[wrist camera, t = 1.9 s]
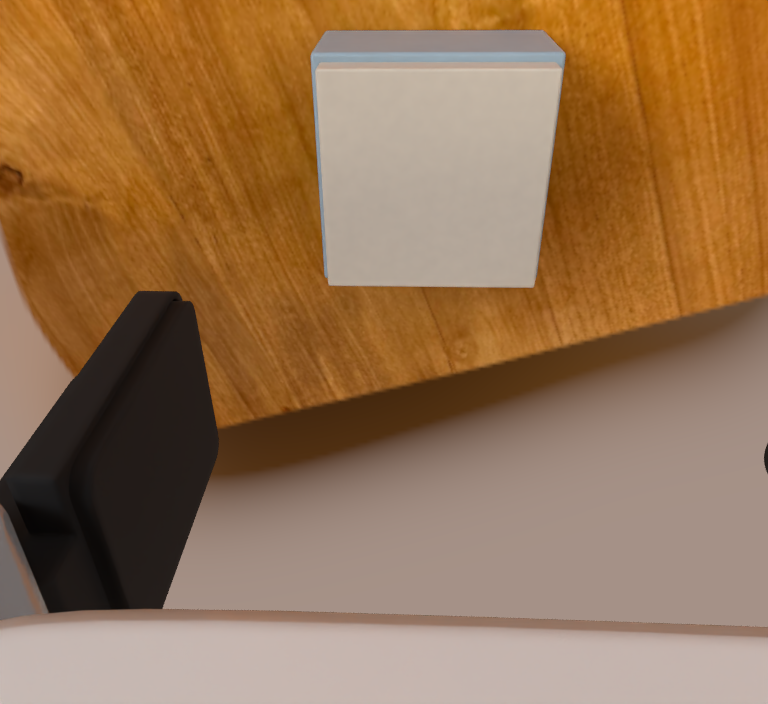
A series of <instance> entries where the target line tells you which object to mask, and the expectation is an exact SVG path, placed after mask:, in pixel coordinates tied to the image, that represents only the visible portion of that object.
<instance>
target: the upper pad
mask: <svg viewBox="0 0 768 704" xmlns="http://www.w3.org/2000/svg"><path fill="white" fill-rule="evenodd" d="M565 58H566V55H565V52H564V51H563V50H562V49H561V48H560V47H559V46H558V45H557V44H556V43H555V42H554V41H553V40H552V39H551V38H550V37H549V36H548V34H547V33H546V32H545V31H543V30H382V31H326V32H325V33H324V34H323V36H322V38H321V39H320V41H319V42H318V44H317V45H316V47H315V49H314V50H313V52H312V53H311V70H312V86H313V102H314V117H315V133H316V149H317V164H318V180H319V196H320V212H321V227H322V243H323V259H324V274H325V277H326V278H328V284H329V285H330V286H399V287H498V288H533V287H534V285H535V279H536V277H537V270H538V262H539V254H540V247H541V239H542V232H543V224H544V217H545V209H546V202H547V194H548V186H549V179H550V171H551V164H552V156H553V149H554V141H555V134H556V126H557V118H558V111H559V103H560V96H561V88H562V81H563V73H564V66H565Z"/></svg>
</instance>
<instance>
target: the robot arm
mask: <svg viewBox="0 0 768 704" xmlns="http://www.w3.org/2000/svg"><path fill="white" fill-rule="evenodd" d="M218 441H219V438H218V431H217V426H216V421H215V415H214V410H213V405H212V399H211V394H210V389H209V383H208V378H207V373H206V367H205V362H204V357H203V351H202V346H201V340H200V335H199V330H198V324H197V319H196V314H195V309H194V306H193V304H192V303H191V302H190V301H182V298H181V296H180V294H179V293H178V292H170V291H138V292H137V293H136V294H135V296H134V297H133V298H132V300H131V301H130V303H129V304H128V305H127V307H126V308H125V310H124V311H123V312H122V314H121V315H120V317H119V318H118V319H117V321H116V322H115V324H114V325H113V326H112V328H111V329H110V331H109V332H108V333H107V335H106V336H105V338H104V339H103V340H102V342H101V343H100V345H99V346H98V347H97V349H96V350H95V352H94V353H93V354H92V356H91V357H90V359H89V360H88V361H87V363H86V364H85V366H84V367H83V368H82V370H81V371H80V373H79V374H78V375H77V376H76V377H75V378H74V379H73V380H72V381H71V382H70V384H69V385H68V387H67V388H66V389H65V391H64V392H63V393H62V395H61V396H60V398H59V399H58V400H57V402H56V403H55V405H54V406H53V407H52V409H51V410H50V412H49V413H48V414H47V416H46V417H45V419H44V420H43V422H42V423H41V424H40V426H39V427H38V428H37V430H36V431H35V432H34V434H33V435H32V437H31V438H30V439H29V441H28V442H27V444H26V445H25V446H24V448H23V449H22V451H21V452H20V453H19V455H18V456H17V458H16V459H15V460H14V462H13V463H12V464H11V466H10V467H9V469H8V470H7V472H6V473H5V474H4V476H3V477H2V478H1V480H0V704H768V627H749V626H721V625H695V624H668V623H667V624H666V623H641V622H640V623H639V622H613V621H612V622H611V621H584V620H556V619H527V618H498V617H467V616H466V617H465V616H434V615H433V616H432V615H398V614H368V613H334V612H301V611H257V610H252V611H251V610H188V609H187V610H186V609H185V610H184V609H183V610H182V609H162V608H163V605H164V602H165V600H166V596H167V594H168V591H169V588H170V586H171V583H172V580H173V577H174V575H175V572H176V569H177V566H178V564H179V561H180V558H181V555H182V552H183V550H184V547H185V544H186V541H187V539H188V536H189V533H190V530H191V527H192V525H193V522H194V519H195V517H196V513H197V511H198V508H199V505H200V503H201V500H202V497H203V494H204V492H205V489H206V486H207V483H208V481H209V478H210V475H211V472H212V469H213V467H214V464H215V461H216V458H217V454H218V445H219V443H218ZM764 462H765V468H766V470H767V473H768V444H767V447H766V449H765V454H764Z"/></svg>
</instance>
